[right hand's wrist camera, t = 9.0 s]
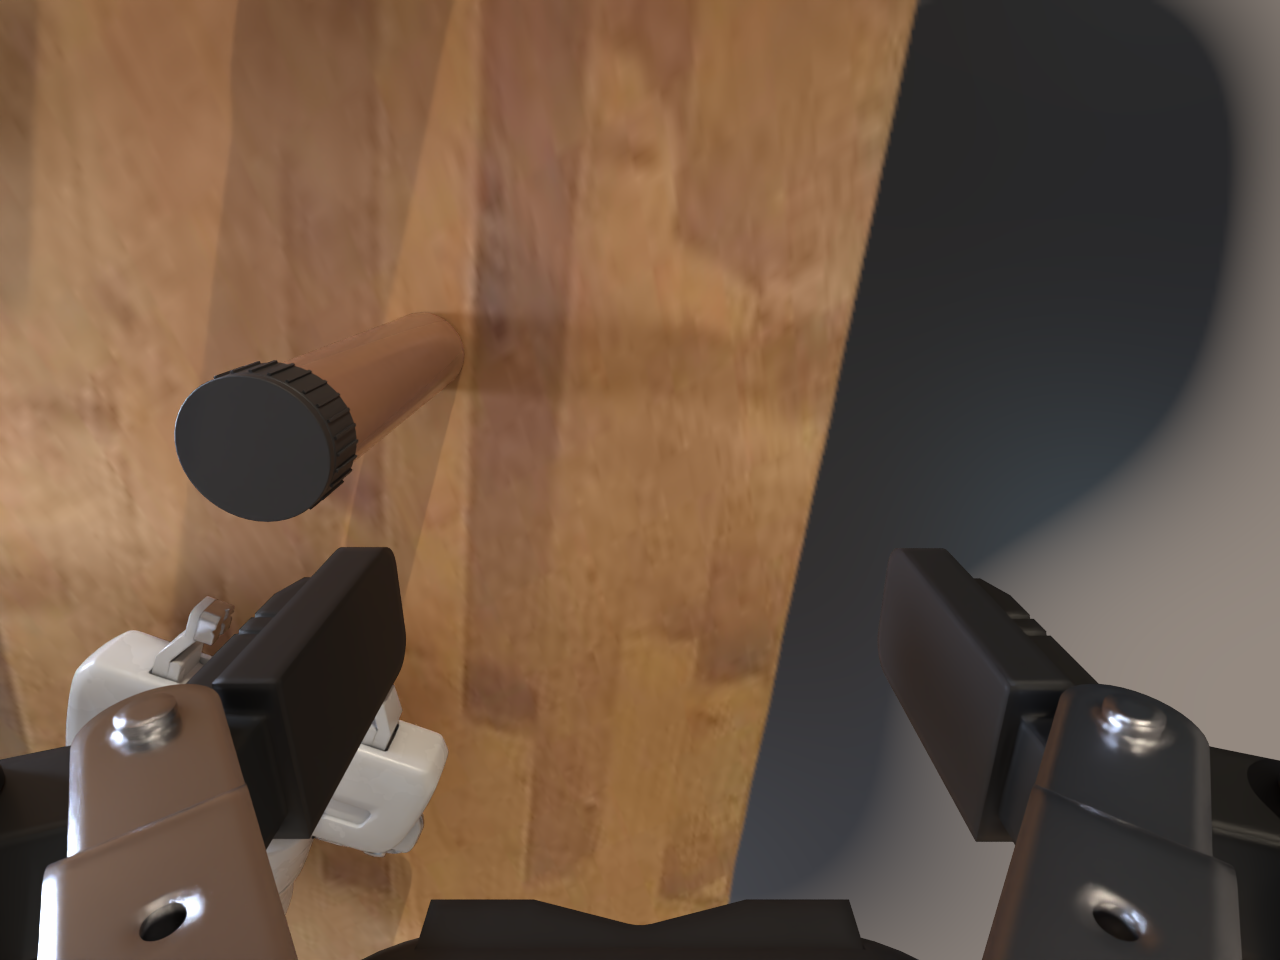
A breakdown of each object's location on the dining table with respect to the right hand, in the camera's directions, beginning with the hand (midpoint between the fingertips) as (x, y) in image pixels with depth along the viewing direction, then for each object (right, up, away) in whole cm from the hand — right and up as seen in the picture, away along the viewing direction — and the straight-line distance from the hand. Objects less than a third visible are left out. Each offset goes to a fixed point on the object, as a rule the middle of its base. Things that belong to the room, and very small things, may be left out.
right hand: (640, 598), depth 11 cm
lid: (-12, +3, +10) cm, 16 cm away
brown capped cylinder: (-12, +9, +27) cm, 31 cm away
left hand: (-19, -7, +26) cm, 33 cm away
